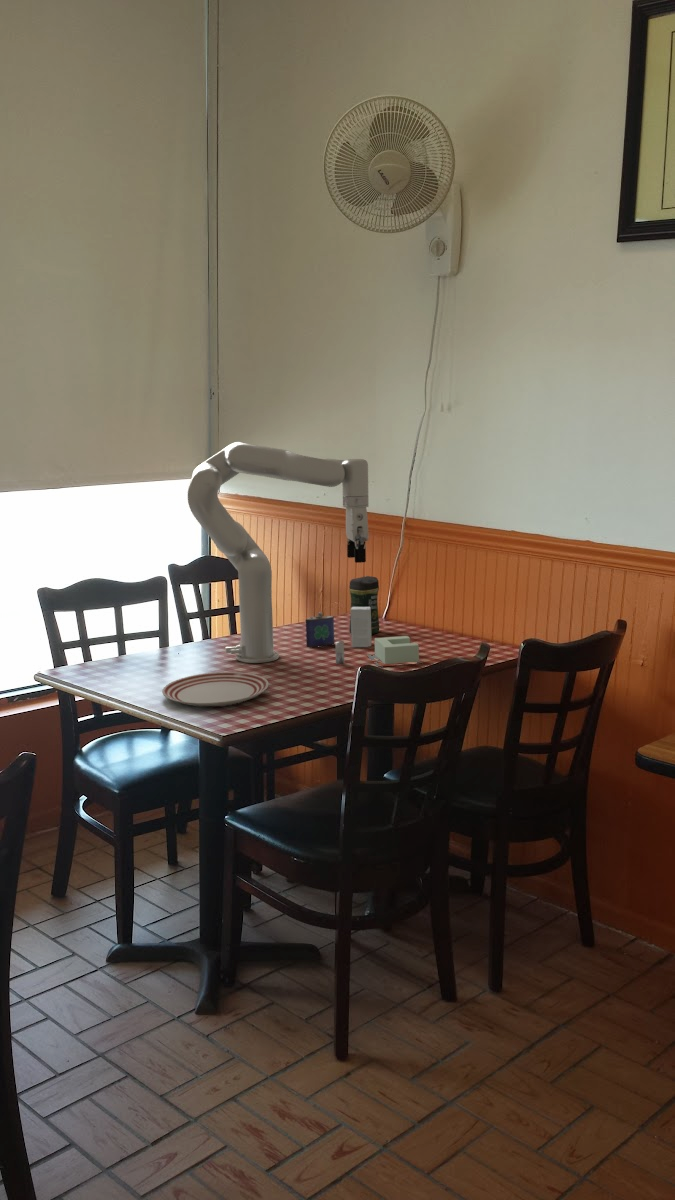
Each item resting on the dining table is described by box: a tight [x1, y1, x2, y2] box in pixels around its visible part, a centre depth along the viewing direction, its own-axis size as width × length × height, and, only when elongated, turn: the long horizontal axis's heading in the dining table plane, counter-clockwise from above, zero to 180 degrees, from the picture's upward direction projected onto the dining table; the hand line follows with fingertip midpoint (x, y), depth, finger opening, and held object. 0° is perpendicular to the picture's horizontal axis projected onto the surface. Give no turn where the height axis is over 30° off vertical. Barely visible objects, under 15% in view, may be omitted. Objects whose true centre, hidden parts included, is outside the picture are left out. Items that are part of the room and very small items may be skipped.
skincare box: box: [350, 607, 373, 648], centre depth 328 cm, size 6×4×12 cm
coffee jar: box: [348, 575, 380, 636], centre depth 343 cm, size 10×8×19 cm
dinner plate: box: [161, 671, 270, 707], centre depth 277 cm, size 27×27×3 cm
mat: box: [366, 653, 423, 668], centre depth 311 cm, size 13×14×1 cm
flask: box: [305, 611, 336, 648], centre depth 329 cm, size 9×3×11 cm, turn 114°
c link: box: [374, 635, 420, 664], centre depth 311 cm, size 10×12×5 cm
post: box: [334, 640, 345, 665], centre depth 307 cm, size 2×2×6 cm
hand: (356, 559), depth 315 cm, fingers open, 9 cm apart
